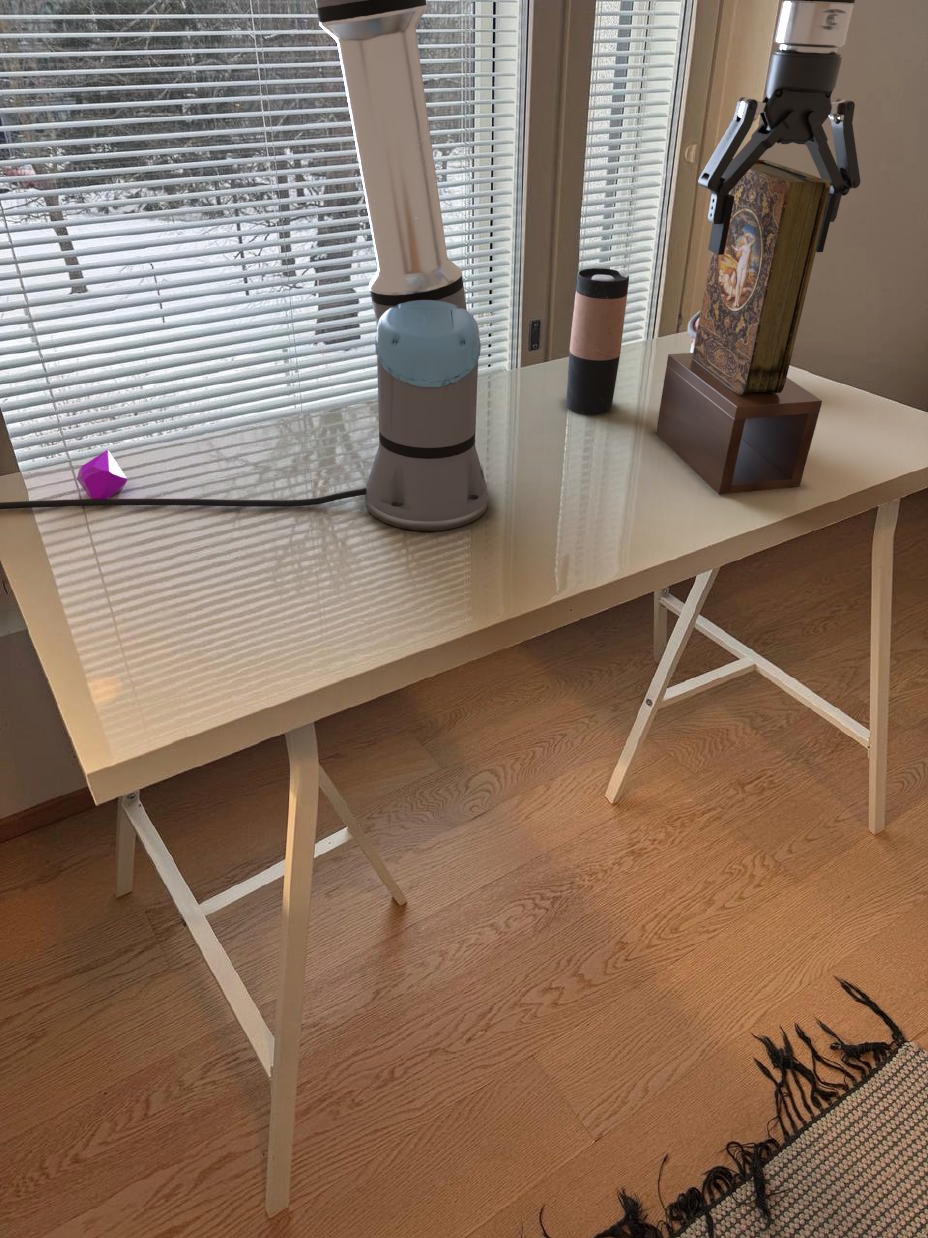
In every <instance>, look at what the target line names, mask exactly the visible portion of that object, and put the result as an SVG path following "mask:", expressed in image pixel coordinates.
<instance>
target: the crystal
mask: <svg viewBox="0 0 928 1238" xmlns="http://www.w3.org/2000/svg"><path fill="white" fill-rule="evenodd" d="M76 480H77V482H78V483H79V484H80V486H81V488H82V489H83V490H84V492H85V493H86V494H87V496H88V497H89V499H111V497H113V496H115V495H116V494H117V493H119V492H120V491H122V490H123V488H124V487H125V485H126V484H127V482H128V478H127V476H126V475H125V473H124V472H123V470H122V469H121V467H120V466H119V463H118V462H117V461H116V459H115V458H114V456H113V455H112V454H111V452H110V451H109V449H106V450H104V451H103V452H102V453H100V454H99V455H97V456H96V457H94V458H93V459H91V460H89V461H88V462H86V463H84V464H83V465H81V467H80V468H79V469H78V473H77V476H76ZM95 507H98V506H95Z"/></svg>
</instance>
